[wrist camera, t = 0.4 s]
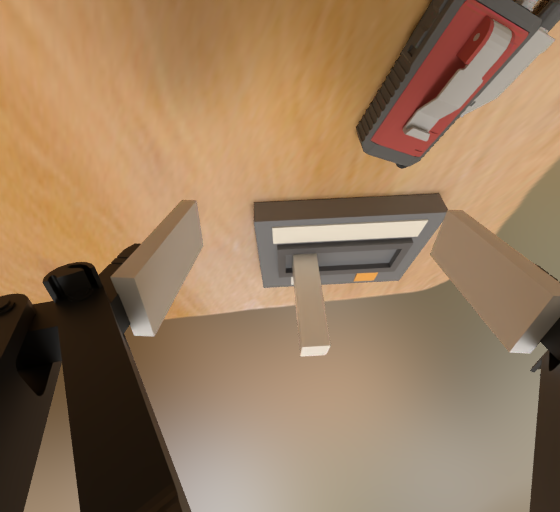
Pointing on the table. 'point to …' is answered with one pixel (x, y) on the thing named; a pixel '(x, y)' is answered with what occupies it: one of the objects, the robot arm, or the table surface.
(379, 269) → the switch box
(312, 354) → the lever
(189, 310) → the table surface
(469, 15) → the walkie-talkie
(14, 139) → the table surface
